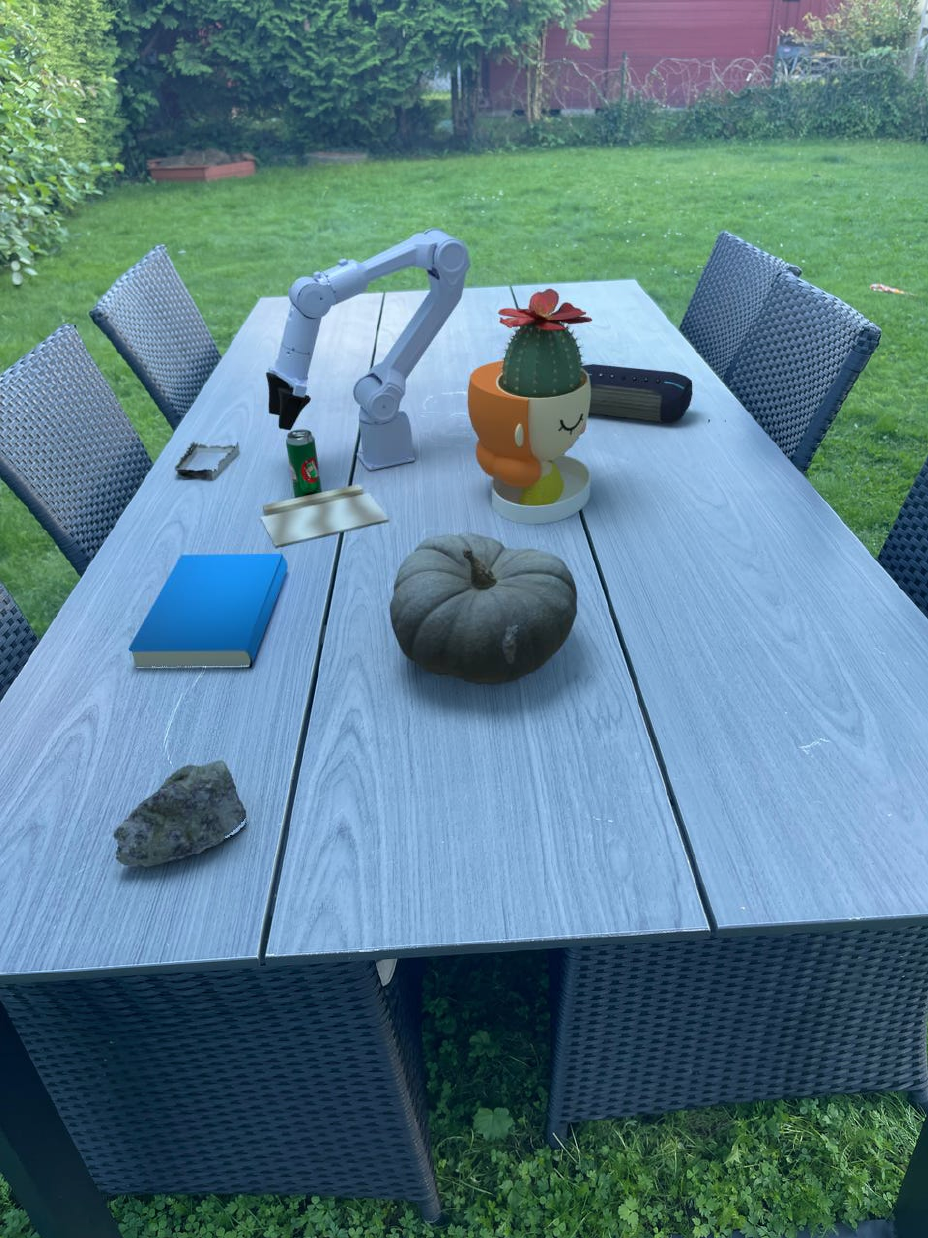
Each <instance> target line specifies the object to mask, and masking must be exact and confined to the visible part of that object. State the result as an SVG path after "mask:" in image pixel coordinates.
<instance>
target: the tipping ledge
mask: <svg viewBox="0 0 928 1238" xmlns="http://www.w3.org/2000/svg"><path fill="white" fill-rule="evenodd" d="M262 510H263V514H264V516H263V515H262V516H261V517H260V521H261V522H262V524H263V526H264V529H265V530H266V532H267V534H268V536H269V538H270V540H271V542H272V543H273V545H274V547H275V548H276V549H277V548H280V547H285V546H289V545H293V544H298V543H302V542H306V541H307V542H308V541H310V540H314V539H318V538H322V537H326V536H331V535H335V534H339V533H344V532H348V531H353V530H357V529H361V528H365V527H371V526H375V525H378V524H383V523H387V522H389V520H390V519H389V517H387V515H386V514H385V513H384V510H382V509H381V507H380V506H379V505H378V503H377V502H376V500H375V499H374V498H373V497H372V496H371V494H370V493H369V492H365V493H364V488H363V487H362V485H361V484H360V483H359V484H353V485H349V486H346V487H340V488H335V489H332V490H327V491H322V492H321V493H317V494H312V495H308V496H303V497H299V498H297V497H295V498H291V499H285V500H282V501H281V500H280V501H276V502H272V503H267V504H264V505H262Z"/></svg>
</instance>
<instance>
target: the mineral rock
mask: <svg viewBox="0 0 928 1238" xmlns="http://www.w3.org/2000/svg"><path fill="white" fill-rule="evenodd" d="M244 807H245V806H244V804H243V802H242V800H241V799H240V797H239V795H238V792H237V787H236V785H235V781H234V779H233V776H232V773H231V772H230V769H229V768H228V766H227V763H225V762H224V760H222V759H221V760H215V761H212V762H210V763H208V764H204V765H194V764H192V763H190V764H187V765H185V766H182V767H180V768H178V769H177V770H176V771H174V772H173V773H172V774H171V775H170V776H168V777H166V778H165V780H164V781H163V783H162V785H161V787H159V788H158V790H157V791H155V792H154V793H153V794H151V795H150V796H148V797H147V798H146V799H144V800H143V801H141V802H140V803H139V804H138V806H137V807H136V808H135V809H133V810H132V812H130V814H129V816H128V817H127V818H126V819H124V820H123V822H122V823H120V824H119V826H117V827H116V829H114V831H113V835H112V836H113V838H114V840H116V841H117V847H116V848H117V850H116V851H115V855H116V856H115V859H116V861H118V863H120V864H121V865H123V866H127V867H135V868H137V867H140V866H142V867H144V868H149V867H152V866H156V865H161V863H162V864H164V862H165V863H168V862H167V861H171V862H172V860H173V861H175V860H180V859H183V858H185V857H187V856H192V855H199V854H201V853H202V852H203V851H204V850H206V849H208V848H211V847H212V848H213V847H214V846H215V847H216V846H218V845H219V844H221V843H222V842H223V841H224V840H223V839H224V838H225V836H227V835H229V834H230V833H231V832H233V830H235V829H236V828H237V827H238V826H239V825H241V822H243V821H244V819H245V818H246V819H247V811H246V809H245V808H244Z"/></svg>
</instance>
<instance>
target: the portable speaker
mask: <svg viewBox="0 0 928 1238" xmlns="http://www.w3.org/2000/svg"><path fill="white" fill-rule="evenodd" d="M583 368H584V369H583ZM582 369H583V370H585V371H586V372H587V373H588V375H589V379H590V385H591V400H590V405H591V407H590V412H589V414H593V415H594V414H595V415H602V416H611V417H619V416H620V417H619V418H626V417H629V418H628V419H635V418H638V419H637V420H643V419H647V420H646V421H651V420H655V421H654V422H660V421H662V423H673V422H677V421H680V420H682V418H683V417H684V415H685V414H686V412H687V410H688V409H689V408H690V405H691V402H692V399H693V380H692V379H690V377H687V376H686V375H683V374H681V373H677V372H675V371H665V370H656V369H644V368H634V367H625V366H617V365H616V366H615V365H608V364H607V365H605V364H595V363H592V364H586V365H585V364H582Z"/></svg>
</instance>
